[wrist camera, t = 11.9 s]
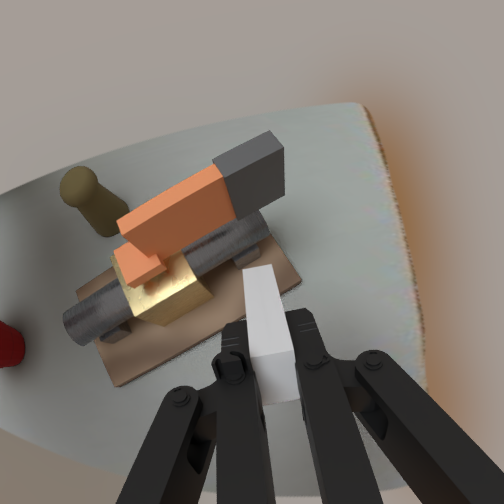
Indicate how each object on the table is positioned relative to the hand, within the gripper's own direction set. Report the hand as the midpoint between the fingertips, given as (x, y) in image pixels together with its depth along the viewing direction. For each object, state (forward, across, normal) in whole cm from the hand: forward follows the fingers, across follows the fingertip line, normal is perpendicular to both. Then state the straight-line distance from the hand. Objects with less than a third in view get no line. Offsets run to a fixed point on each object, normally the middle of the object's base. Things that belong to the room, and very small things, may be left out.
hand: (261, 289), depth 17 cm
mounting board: (+20, -10, -10) cm, 24 cm away
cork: (+29, -20, -1) cm, 35 cm away
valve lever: (+14, -4, -1) cm, 15 cm away
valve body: (+19, -10, -9) cm, 23 cm away
